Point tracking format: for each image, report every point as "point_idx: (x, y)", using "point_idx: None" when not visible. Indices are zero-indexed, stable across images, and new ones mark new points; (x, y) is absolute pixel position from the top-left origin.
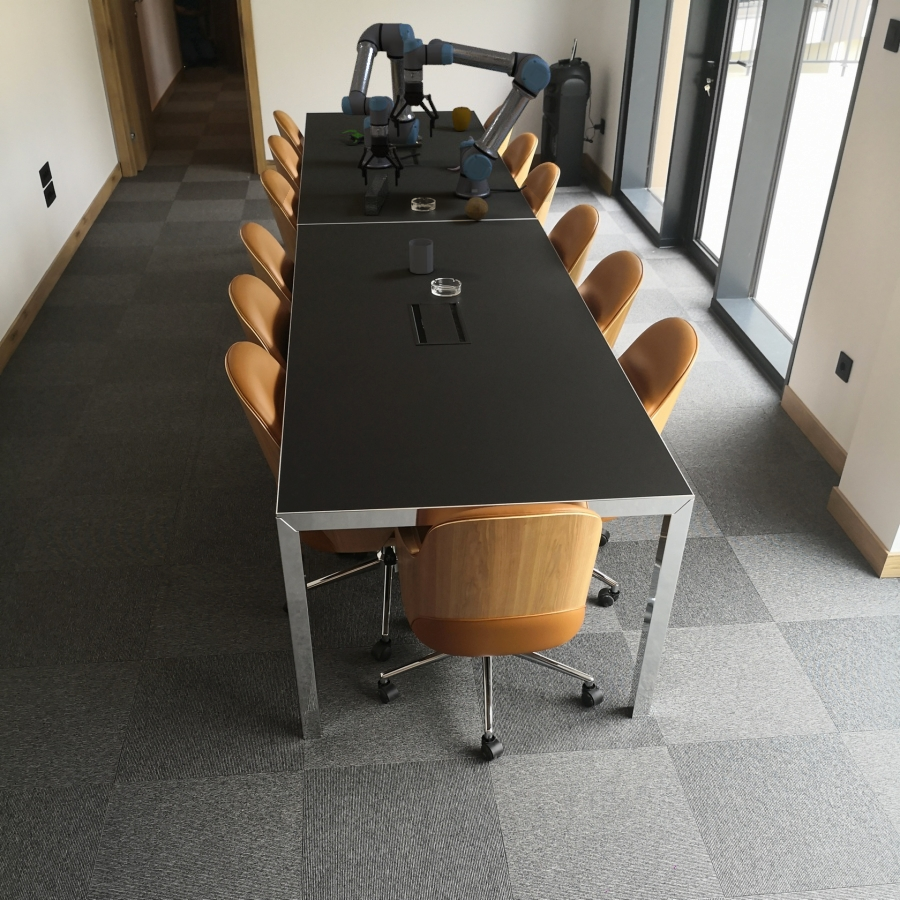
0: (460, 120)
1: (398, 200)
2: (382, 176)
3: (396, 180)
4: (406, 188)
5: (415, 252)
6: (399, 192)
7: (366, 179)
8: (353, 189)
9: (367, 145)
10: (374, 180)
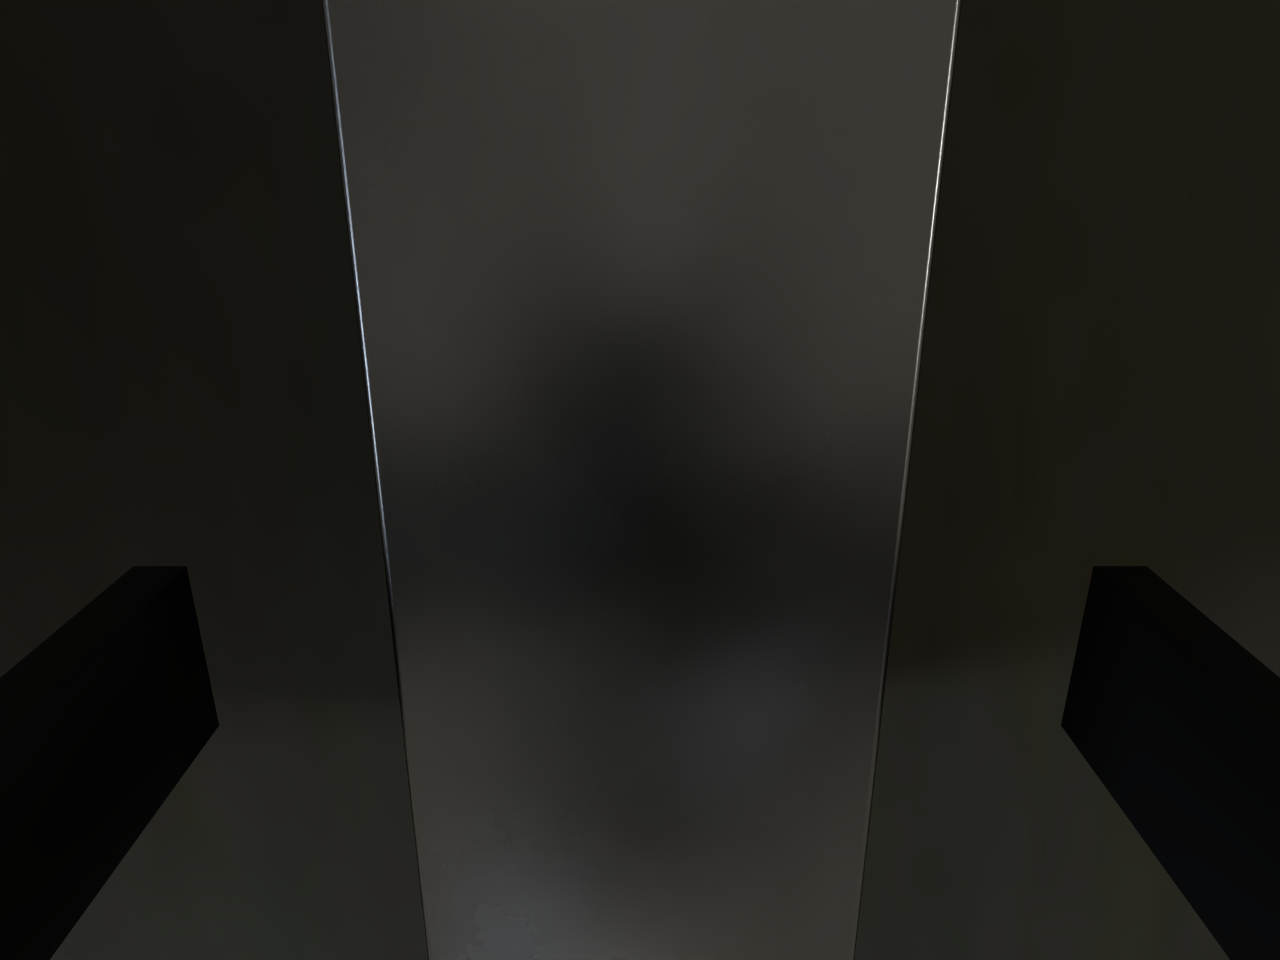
0: None
1: (110, 72)
2: (578, 825)
3: (32, 663)
4: (219, 946)
5: None
6: (282, 709)
7: (1189, 701)
8: None
9: None
10: (879, 172)
